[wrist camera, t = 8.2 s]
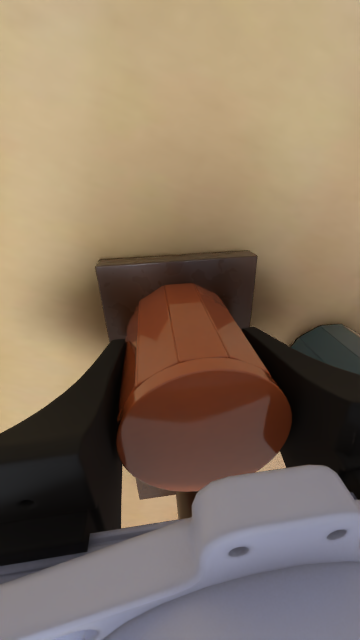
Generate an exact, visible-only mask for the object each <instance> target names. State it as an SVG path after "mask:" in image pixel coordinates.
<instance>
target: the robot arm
mask: <svg viewBox="0 0 360 640" xmlns="http://www.w3.org/2000/svg"><path fill="white" fill-rule="evenodd" d="M242 332H243V334H244V335H245V337H246V338H247V340H248V341H249V343H250V344H251V346H252V347H253V349H254V350H255V352H256V353H257V355H258V356H259V358H260V359H261V361H262V362H263V364H264V365H265V367H266V368H267V370H268V371H269V373H270V375H271V376H272V378H273V379H274V380H275V381H276V382H277V384H278V385H279V387H280V388H281V390H282V391H283V393H284V394H285V396H286V397H287V399H288V402H289V404H290V407H291V412H292V425H291V430H290V433H289V436H288V438H287V440H286V442H285V444H284V445H283V447H282V448H281V450H280V452H281V455H282V457H283V460H284V462H285V465H286V468H283V469H276V470H269V471H262V472H255V473H248V474H242V475H235V476H228V477H225V478H222V479H218V480H215V481H212V482H210V483H209V484H208V485H206V486H205V487H203V488H202V489H201V490H199V491H198V493H197V494H196V496H195V499H194V501H193V503H192V517H190V518H185V519H179V520H172V521H166V522H160V523H153V524H147V525H141V526H134V527H128V528H122V529H121V493H122V462H121V460H120V458H119V455H118V452H117V448H116V434H117V425H118V422H117V416H118V407H119V399H120V390H121V381H122V373H123V364H124V356H125V347H126V341H125V339H116V340H112V341H111V342H110V343H109V344H108V346H107V347H106V348H105V350H104V351H103V352H102V354H101V355H100V356H99V357H98V359H97V360H96V361H95V362H94V364H93V365H92V366H91V367H90V368H89V369H88V370H87V371H86V372H85V374H84V375H83V376H82V377H81V378H80V379H79V380H78V381H77V382H76V383H75V384H73V385H72V386H71V387H70V388H69V389H68V390H67V391H65V392H64V393H63V394H62V395H60V396H59V397H58V398H56V399H55V400H54V401H52V402H51V403H50V404H48V405H47V406H46V407H44V408H43V409H41V410H40V411H38V412H37V413H35V414H34V415H32V416H30V417H29V418H27V419H26V420H24V421H22V422H20V423H19V424H17V425H15V426H13V427H11V428H10V429H8V430H6V431H4V432H2V433H0V640H360V375H359V374H356V373H352V372H349V371H346V370H343V369H340V368H337V367H334V366H331V365H328V364H326V363H323V362H321V361H319V360H316V359H314V358H311V357H309V356H307V355H305V354H303V353H301V352H299V351H297V350H295V349H293V348H291V347H289V346H287V345H285V344H284V343H282V342H280V341H278V340H277V339H275V338H273V337H271V336H270V335H268V334H266V333H264V332H263V331H261V330H259V329H257V328H255V327H247V328H242Z"/></svg>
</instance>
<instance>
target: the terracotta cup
mask: <svg viewBox="0 0 360 640" xmlns="http://www.w3.org/2000/svg"><path fill="white" fill-rule="evenodd" d="M117 422H118V425H117V434H116V448H117V452H118V455H119V458H120V460H121V462H122V464H123V466H124V467H125V468H126V469H127V470H128V472H130V473H131V474H132V475H133V476H134V477H136V478H137V479H139V480H140V481H142V482H144V483H146V484H148V485H151V486H154V487H157V488H160V489H165V490H170V491H181V492H193V491H199V490H201V489H202V488H203V487H205V486H206V485H208V484H209V483H210V482H212V481H215V480H218V479H222V478H225V477H228V476H235V475H242V474H248V473H255V472H256V471H258V470H260V469H261V468H262V467H264V466H265V465H266V464H267V463H269V462H270V461H271V460H272V459H273V458H274V457H275V456H276V455H277V453H278V452H279V451H280V450H281V448H282V447H283V445H284V444H285V442H286V440H287V438H288V436H289V433H290V430H291V425H292V412H291V407H290V404H289V402H288V399H287V397H286V396H285V394H284V393H283V391H282V390H281V388H280V387H279V385H278V384H277V382H276V381H275V380H274V379H273V378H272V376H271V375H270V373H269V371H268V370H267V368H266V367H265V365H264V364H263V362H262V361H261V359H260V358H259V356H258V355H257V353H256V352H255V350H254V349H253V347H252V346H251V344H250V343H249V341H248V340H247V338H246V337H245V335H244V334H243V332H242V331H241V329H240V328H239V326H238V324H237V323H236V321H235V320H234V318H233V317H232V315H231V314H230V312H229V311H228V309H227V308H226V306H225V305H224V303H223V302H222V300H221V299H220V297H219V296H218V295H217V294H216V293H213V292H211V291H209V290H207V289H205V288H203V287H201V286H199V285H197V284H195V283H184V284H170V285H164V286H161V287H160V288H158V289H157V290H155V291H154V292H152V293H151V294H149V295H147V296H146V297H144V298H143V299H141V300H140V301H139V303H138V305H137V307H136V309H135V311H134V313H133V315H132V317H131V319H130V321H129V323H128V330H127V339H126V347H125V356H124V364H123V373H122V381H121V390H120V399H119V407H118V416H117Z"/></svg>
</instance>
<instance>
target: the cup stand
mask: <svg viewBox="0 0 360 640" xmlns="http://www.w3.org/2000/svg"><path fill="white" fill-rule="evenodd" d="M256 264H257V255H255V254H253V253H252V252H250V251H235V252H219V253H203V254H187V255H171V256H155V257H140V258H124V259H108V260H99V261H98V263H97V265H96V266H95V269H96V274H97V279H98V284H99V290H100V295H101V300H102V305H103V310H104V316H105V321H106V326H107V331H108V337H109V342H111V341H112V340H116V339H125V341H126V339H127V330H128V323H129V321H130V319H131V317H132V315H133V313H134V311H135V309H136V307H137V305H138V303H139V301H140V300H141V299H143V298H144V297H146V296H147V295H149V294H151V293H152V292H154V291H155V290H157V289H158V288H160V287H161V286H164V285H170V284H184V283H195V284H197V285H199V286H201V287H203V288H205V289H207V290H209V291H211V292H213V293H216V294H217V295H218V296H219V297H220V299H221V300H222V302H223V303H224V305H225V306H226V308H227V309H228V311H229V312H230V314H231V315H232V317H233V318H234V320H235V321H236V323H237V324H238V326H239V328H240V329H241V331H242V328H247V327H250V319H251V310H252V301H253V292H254V283H255V274H256ZM136 483H137V488H138V493H139V498H140V500H141V499H148V498H155V497H161V496H168V495H175V494H176V499H177V509H178V519H185V518H190V517H192V503H193V501H194V499H195V496H196V494H197V493H198V491H193V492H181V491H170V490H165V489H160V488H157V487H154V486H151V485H148V484H146V483H144V482H142V481H140V480H139V479H137V478H136Z"/></svg>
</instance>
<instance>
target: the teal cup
mask: <svg viewBox="0 0 360 640" xmlns="http://www.w3.org/2000/svg"><path fill="white" fill-rule="evenodd" d="M291 348H293V349H295V350H297V351H299V352H301V353H303V354H305V355H307V356H309V357H311V358H314V359H316V360H319V361H321V362H323V363H326V364H328V365H331V366H334V367H337V368H340V369H343V370H346V371H349V372H352V373H356V374H359V375H360V334H358V333H357V332H356V331H354V330H352V329H350V328H348V327H346V326H344V325H342V324H334V325H323V326H318V327H317V328H315V329H313V330H311V331H309V332H308V333H306V334H304V335H302V336H300V337H299V338H298V339H297V340H296V341H295V342H294V344H293V345H292V346H291Z"/></svg>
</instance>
